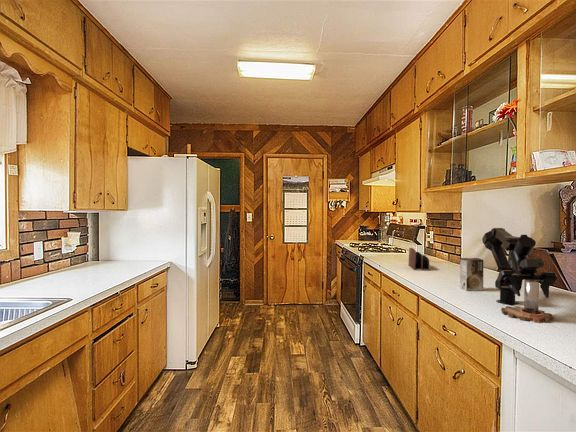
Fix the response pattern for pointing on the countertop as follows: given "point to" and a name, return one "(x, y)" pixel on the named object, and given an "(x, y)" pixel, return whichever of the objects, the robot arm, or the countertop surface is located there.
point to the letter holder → (418, 261)
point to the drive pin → (531, 297)
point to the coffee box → (471, 274)
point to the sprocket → (526, 314)
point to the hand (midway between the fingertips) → (533, 296)
